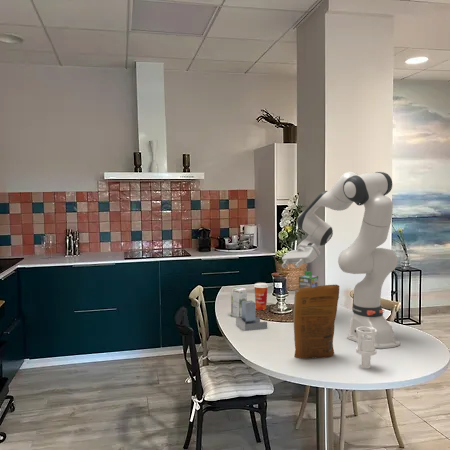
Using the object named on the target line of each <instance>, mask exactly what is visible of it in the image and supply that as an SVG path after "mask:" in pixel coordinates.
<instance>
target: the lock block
mask: <svg viewBox="0 0 450 450" xmlns="http://www.w3.org/2000/svg"><path fill="white" fill-rule="evenodd" d="M256 311H257V310H256V303H255V301H253V300H247V301H242V317H241V318H242V320H243V321H244V322H245V324H248V323H256V317H257V316H256Z"/></svg>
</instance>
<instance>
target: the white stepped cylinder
mask: <svg viewBox="0 0 450 450" xmlns="http://www.w3.org/2000/svg"><path fill="white" fill-rule="evenodd" d="M359 330H370V332H363V331H359ZM356 332H357V333H358V342H357V346H356V347H355V353H356V354H358V355H361V364H360V366H361V368H362V369H366V370H367V369H370V368H371V356H372V357H373V356H375V355H377V348H375V335H376V334H377V330H376V329H375V328H371V327H357V328H356ZM364 336H365V337H364Z"/></svg>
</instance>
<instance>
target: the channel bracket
mask: <svg viewBox="0 0 450 450" xmlns="http://www.w3.org/2000/svg"><path fill="white" fill-rule="evenodd" d="M235 325H236V326H237V327H238V328H239V329H240V330H241V331H242V332H245V331H256V330H264V329H265V330H266V329H268V321H261V316H256V323H248V324H245V322H244V321H243V320H242V317H241V318H239V317H235Z"/></svg>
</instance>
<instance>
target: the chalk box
mask: <svg viewBox="0 0 450 450" xmlns="http://www.w3.org/2000/svg"><path fill="white" fill-rule="evenodd" d="M316 286H319V275H313V274H312V272H311V271H310V270H304V275H303V274H302V275H301V276H298V288H307V287H316Z"/></svg>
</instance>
